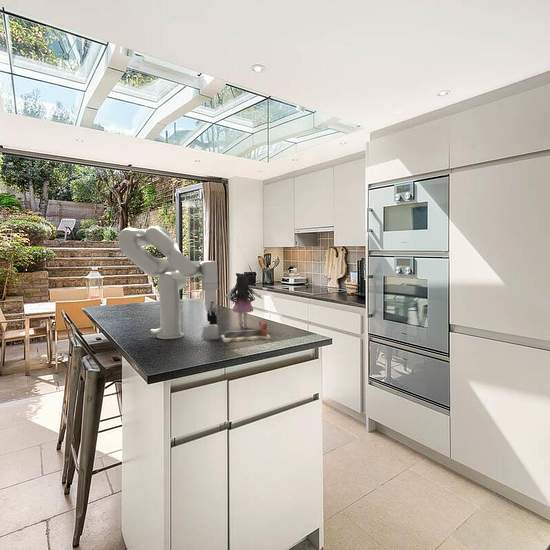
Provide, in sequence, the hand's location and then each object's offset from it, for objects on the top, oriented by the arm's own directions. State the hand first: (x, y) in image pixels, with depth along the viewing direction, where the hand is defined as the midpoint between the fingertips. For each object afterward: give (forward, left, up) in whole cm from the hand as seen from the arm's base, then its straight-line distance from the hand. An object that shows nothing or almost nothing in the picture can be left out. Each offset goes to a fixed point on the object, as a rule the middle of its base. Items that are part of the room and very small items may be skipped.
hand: (212, 322), depth 176 cm
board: (+15, -5, -8) cm, 18 cm away
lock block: (-1, +1, -8) cm, 8 cm away
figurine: (+19, +20, -8) cm, 28 cm away
